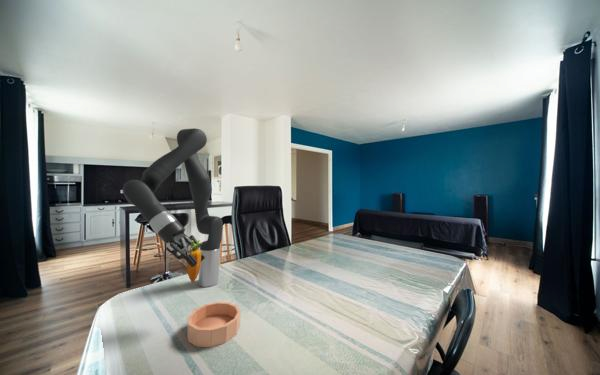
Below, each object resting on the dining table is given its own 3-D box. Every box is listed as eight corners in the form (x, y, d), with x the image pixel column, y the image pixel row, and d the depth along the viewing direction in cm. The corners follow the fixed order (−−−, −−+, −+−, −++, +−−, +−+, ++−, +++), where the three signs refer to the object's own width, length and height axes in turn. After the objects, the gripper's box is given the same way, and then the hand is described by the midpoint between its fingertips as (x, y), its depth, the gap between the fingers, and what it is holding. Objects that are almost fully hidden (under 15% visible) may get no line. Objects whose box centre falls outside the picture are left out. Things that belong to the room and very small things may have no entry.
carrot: (196, 278, 80) (198, 237, 80) (203, 282, 76) (205, 239, 77) (182, 282, 76) (184, 239, 76) (188, 286, 73) (190, 242, 73)
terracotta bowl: (201, 315, 80) (202, 301, 80) (244, 316, 80) (245, 303, 80) (176, 345, 64) (177, 328, 64) (230, 347, 64) (231, 330, 64)
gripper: (161, 222, 69) (196, 261, 69) (186, 217, 84) (215, 249, 83) (144, 238, 69) (179, 277, 69) (171, 230, 84) (201, 262, 83)
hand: (199, 262), depth 76 cm, fingers closed on carrot, 5 cm apart
